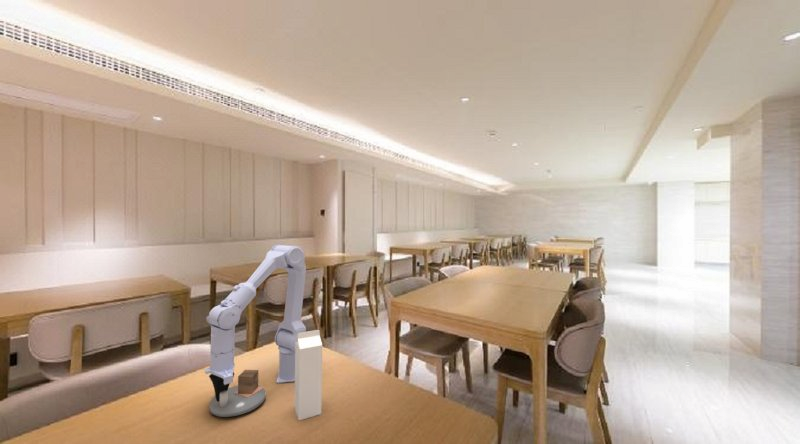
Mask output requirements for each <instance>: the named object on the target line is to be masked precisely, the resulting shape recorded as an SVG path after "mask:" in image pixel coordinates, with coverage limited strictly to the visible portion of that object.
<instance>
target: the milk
mask: <svg viewBox="0 0 800 444" xmlns="http://www.w3.org/2000/svg"><path fill="white" fill-rule="evenodd" d="M322 384H323V342H322V339H321V331H320V330H319V329H314V330H309V331H306V332H302V333H298V339H297V340H296V341H295V381H294V408H293V409H294V411H295V415H296V417H297V420H298V421H302V420H306V419H310V418H312V417H315V416H319V415H322V399H323V398H322V396H323V395H322V393H323V392H322V391H323V390H322V389H323V386H322Z"/></svg>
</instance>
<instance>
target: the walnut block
mask: <svg viewBox="0 0 800 444" xmlns="http://www.w3.org/2000/svg"><path fill="white" fill-rule="evenodd" d="M237 385H238V394H252V393H253V392H254V391H255V390H256V389H257V387H258V385H259V369H244V370H243V371H242V372H241V373H240V374H239V375H238V376H237Z"/></svg>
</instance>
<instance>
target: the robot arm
mask: <svg viewBox="0 0 800 444" xmlns="http://www.w3.org/2000/svg"><path fill="white" fill-rule="evenodd" d="M305 256H306V252H305V251H304V250H303V249H302V248H301V247H300V246H299V245H298V246H297V245H285V244H283V245H282V244H275V245H273V246H272V247H271V249H270V250H269V251H267V253H266V255H265V258H264V259H263V260H262V262H261V263H260V265H259V266H258V267H257V268H256V269H255V271H254V272H253V273H252V274H251V276H250V277H249V278H248V279H247V281H245V282H240V283H239V284H235V285H234V287H233V288H232V289H233V290H232V291H231V292H230V293H229V295H227V297H226V298H224V300H221V302H220V304H218V305H217V306H214V307H212V309H211V310H210V311H209V312H208V313H209V314H208V316H206V323H207V324H208V325H209V326H210V352H209V353H210V354H209V355H210V356H209V367H208V368H205V369H204V373H205V374H206V375H208V374H209V376H208V377H209V379H210V382H212V387H213V390H214V396H215V397H216V400H217V402H219V401H220V392H222V391H228V388H230V384H233V383H234V376H235V373H234V370H235V367H236V364H235V342H236V341H235V339H236V338H235V334H236V332H235V331H236V325H238V324H239V322H240V319H241V314H243V311H244V310H245V309H246V308H247V306H248V305H249V304H250V303H251V302H252V301H253V300H254V298H255V297H256V295H257V288H258V287H260V286H261V284H263V282H264V281H266V279H267V278H268V277H270V276H271V274H272V273H273V272H274V271H276V270H279V269H284V270H285V271H286V272H287V273H288V274H287V275H288V276H287V285H286V286H287V287H286V296H285V303H284V305H285V307H284V314H283V320H282V321H281V322H280V323H279V324H278V326H277V327H278V328H277V331H276V333H275V336H274V343H275V344H276V346H278V347H277V350H278V351H279V354H278V358H279V360H278V374H277V379H276V382H275V383H276V384H283V383H291V382H295V341H296V340H297V339H298V333H302V332H307V327H306V325H305V324H304V323H303V322H302V313H303V306H304V305H303V301H304V296H305V295H304V293H305V286H306V285H305V283H306V276H307V275H306V274H307V273H306V272H307V266H306V262H305Z"/></svg>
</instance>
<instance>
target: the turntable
mask: <svg viewBox="0 0 800 444" xmlns="http://www.w3.org/2000/svg"><path fill="white" fill-rule="evenodd" d="M265 399H266V389H265V387H264V386H262V385H259V384H258V387H257V389H256V390H255V391H254V392H253V393H252V394H238V384H237V385H234V386H229V387H228V391H222V392H220V401H219V402H217V400H216V397H215V395H214V396H213V397H212V398H211V399H210V401H209V405H208V407H209V408H208V409H209V412H210V413H211V415H214V416H217V417H221V418H222V417H223V418H225V417H226V418H227V417H228V418H229V417H235V416H240V415H243V414H246V413H249V412H251V411H253V410H255V409H256V408H258V407H259V406H260V405H262V404H263V403H264V401H265Z"/></svg>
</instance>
